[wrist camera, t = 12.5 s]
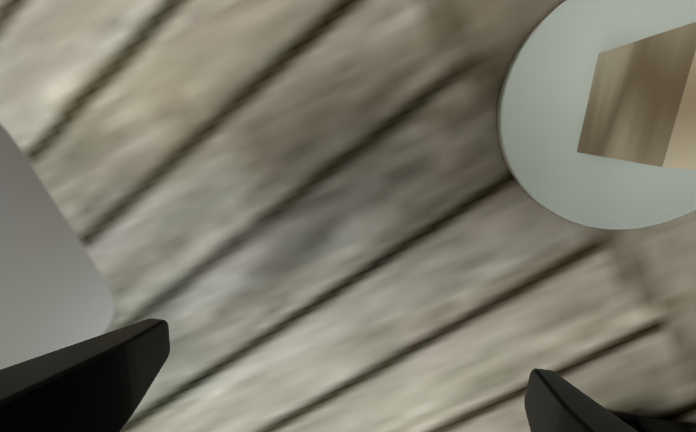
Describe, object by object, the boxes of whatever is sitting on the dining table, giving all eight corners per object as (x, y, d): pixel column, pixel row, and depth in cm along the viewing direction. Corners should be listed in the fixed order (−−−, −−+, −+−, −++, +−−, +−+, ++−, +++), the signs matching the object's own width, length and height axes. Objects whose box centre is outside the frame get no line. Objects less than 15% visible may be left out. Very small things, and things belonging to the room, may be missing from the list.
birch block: (676, 158, 17) (813, 177, 12) (576, 152, 18) (662, 167, 12) (705, 57, 16) (875, 23, 11) (598, 53, 17) (704, 18, 11)
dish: (713, 233, 19) (734, 240, 18) (480, 212, 20) (485, 218, 19) (802, -25, 16) (833, -36, 15) (519, -31, 17) (528, -42, 16)
